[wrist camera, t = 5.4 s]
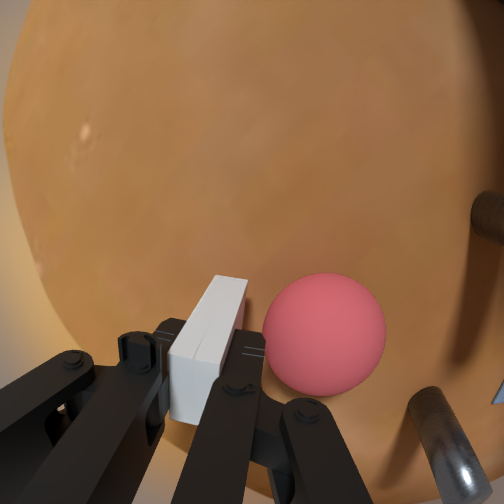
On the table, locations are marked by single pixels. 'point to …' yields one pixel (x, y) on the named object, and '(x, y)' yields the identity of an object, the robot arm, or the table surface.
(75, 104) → the table surface
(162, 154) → the table surface
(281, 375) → the ball
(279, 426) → the robot arm
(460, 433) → the post
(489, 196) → the post
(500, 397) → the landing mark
